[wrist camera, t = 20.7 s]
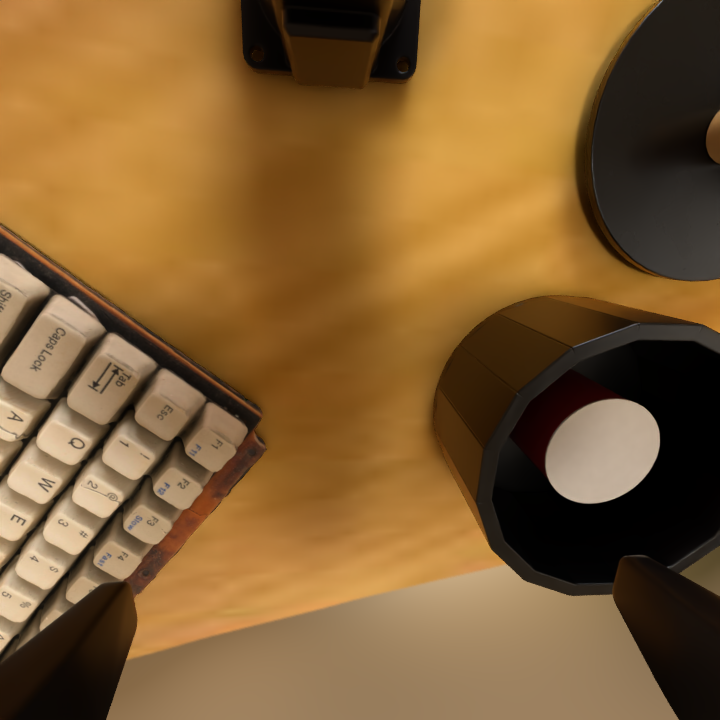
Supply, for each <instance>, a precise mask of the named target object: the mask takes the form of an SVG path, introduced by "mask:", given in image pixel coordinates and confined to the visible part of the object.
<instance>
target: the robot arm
mask: <svg viewBox="0 0 720 720" xmlns="http://www.w3.org/2000/svg"><path fill="white" fill-rule="evenodd" d="M420 4H421V0H241V15H242V39H243V54H244V59H245V61H246V63H247V65H248V66H249V68H250V69H251V70H253V71H254V72H257V73H263V74H277V75H291V76H293V77H294V79H295V80H296V81H297V82H298V83H299V84H300V85H312V86H326V87H341V88H355V89H362V88H363V87H364V86H365V85H366V84H367V83H368V81H375V82H389V83H406V82H407V81H409V80H410V79H411V77H412V76H413V74H414V72H415V69H416V63H417V49H418V34H419V19H420ZM255 50H260V51H262V52H263V53H264V56H263V59H262V60H261V61H254V60H253V59H252V53H253V52H254V51H255ZM399 61H404V62H406V64H407V65H408V70H407V71H406V72H401V71H399V69H398V68H397V63H398V62H399ZM612 591H613V598H614V601H615V603H616V606H617V608H618V609H619V611H620V613H621V615H622V617H623V619H624V621H625V623H626V625H627V627H628V628H629V630H630V632H631V634H632V636H633V638H634V640H635V642H636V643H637V645H638V647H639V649H640V651H641V653H642V655H643V657H644V659H645V661H646V662H647V664H648V666H649V668H650V670H651V672H652V674H653V675H654V678H655V680H656V681H657V683H658V685H659V687H660V688H661V690H662V692H663V694H664V696H665V697H666V699H667V701H668V702H669V704H670V706H671V707H672V709H673V711H674V712H675V714H676V715H677V717H678V719H679V720H720V596H718V595H716V594H714V593H712V592H711V591H709V590H707V589H705V588H704V587H702V586H700V585H698V584H696V583H694V582H693V581H691V580H689V579H687V578H686V577H684V576H682V575H680V574H678V573H677V572H675V571H673V570H671V569H669V568H668V567H666V566H664V565H662V564H660V563H659V562H657V561H655V560H653V559H651V558H650V557H648V556H644V555H633V556H624V557H622V558H621V559H620V561H619V565H618V568H617V572H616V576H615V580H614V584H613V589H612ZM136 627H137V612H136V607H135V603H134V598H133V593H132V588H131V585H130V584H129V583H128V582H126V581H117V582H105V583H102V584H100V585H99V586H97V587H96V588H95V589H94V590H92V591H91V592H90V593H88V594H87V595H86V596H85V597H83V598H82V599H81V600H80V601H78V602H77V603H76V604H75V605H73V606H72V607H71V608H69V609H68V610H67V611H66V612H64V613H63V614H62V615H61V616H59V617H58V618H57V619H56V620H54V621H53V622H52V623H50V624H49V625H48V626H47V627H45V628H44V629H43V630H42V631H40V632H39V633H38V634H36V635H35V636H34V637H33V638H31V639H30V640H29V641H28V642H26V643H25V644H24V645H23V646H21V647H20V648H19V649H17V650H16V651H15V652H14V653H12V654H11V655H10V656H9V657H7V658H6V659H5V660H4V661H2V662H1V663H0V720H106V718H107V715H108V712H109V709H110V706H111V703H112V700H113V697H114V694H115V691H116V688H117V685H118V682H119V679H120V676H121V673H122V670H123V667H124V664H125V661H126V658H127V655H128V652H129V649H130V646H131V643H132V640H133V638H134V635H135V631H136Z"/></svg>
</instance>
